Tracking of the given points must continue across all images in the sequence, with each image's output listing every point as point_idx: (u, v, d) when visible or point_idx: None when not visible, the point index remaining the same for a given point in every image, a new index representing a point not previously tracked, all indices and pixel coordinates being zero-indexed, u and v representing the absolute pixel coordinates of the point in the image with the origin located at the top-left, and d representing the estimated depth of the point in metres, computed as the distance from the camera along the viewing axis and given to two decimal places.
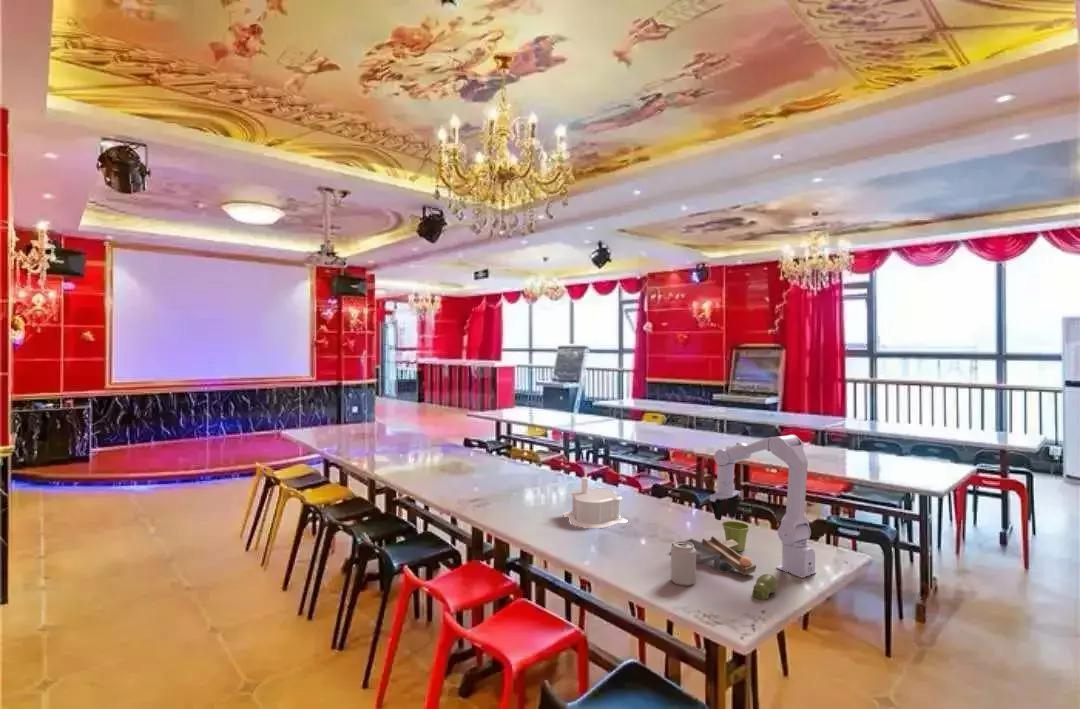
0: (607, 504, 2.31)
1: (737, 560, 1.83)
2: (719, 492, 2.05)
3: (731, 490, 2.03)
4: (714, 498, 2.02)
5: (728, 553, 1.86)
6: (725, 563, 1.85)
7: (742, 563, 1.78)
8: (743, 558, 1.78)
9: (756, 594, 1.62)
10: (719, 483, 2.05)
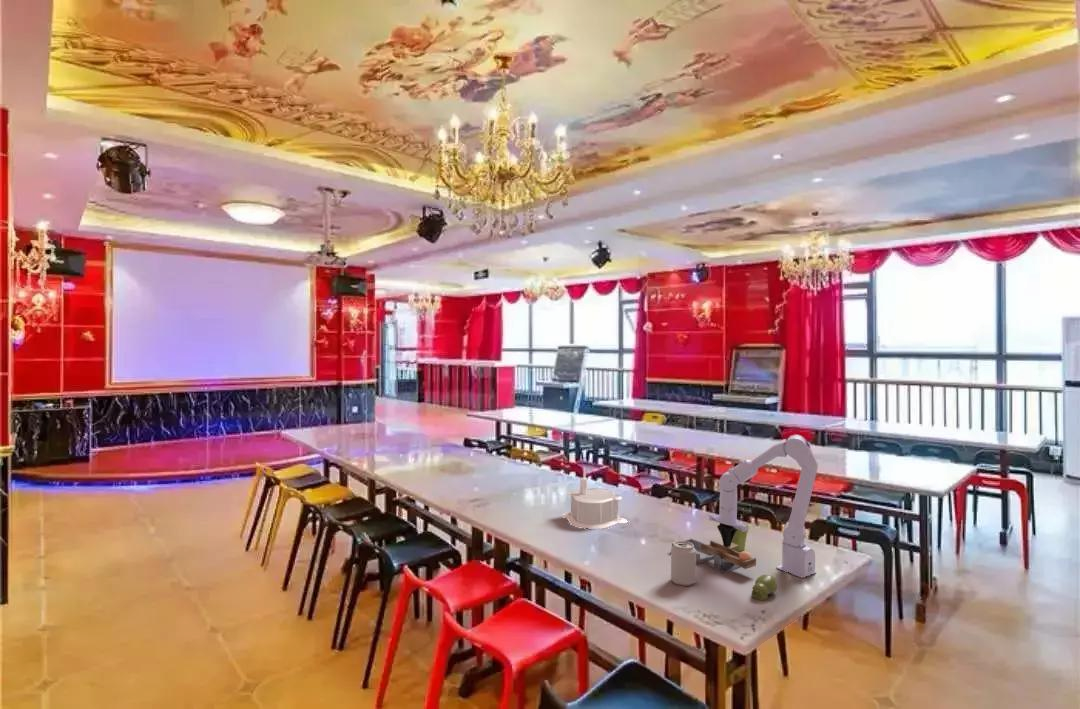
0: (607, 504, 2.30)
1: (737, 557, 1.83)
2: None
3: (722, 516, 1.91)
4: (710, 517, 1.98)
5: (728, 553, 1.86)
6: (725, 563, 1.85)
7: (741, 557, 1.78)
8: (742, 552, 1.79)
9: (755, 594, 1.62)
10: None
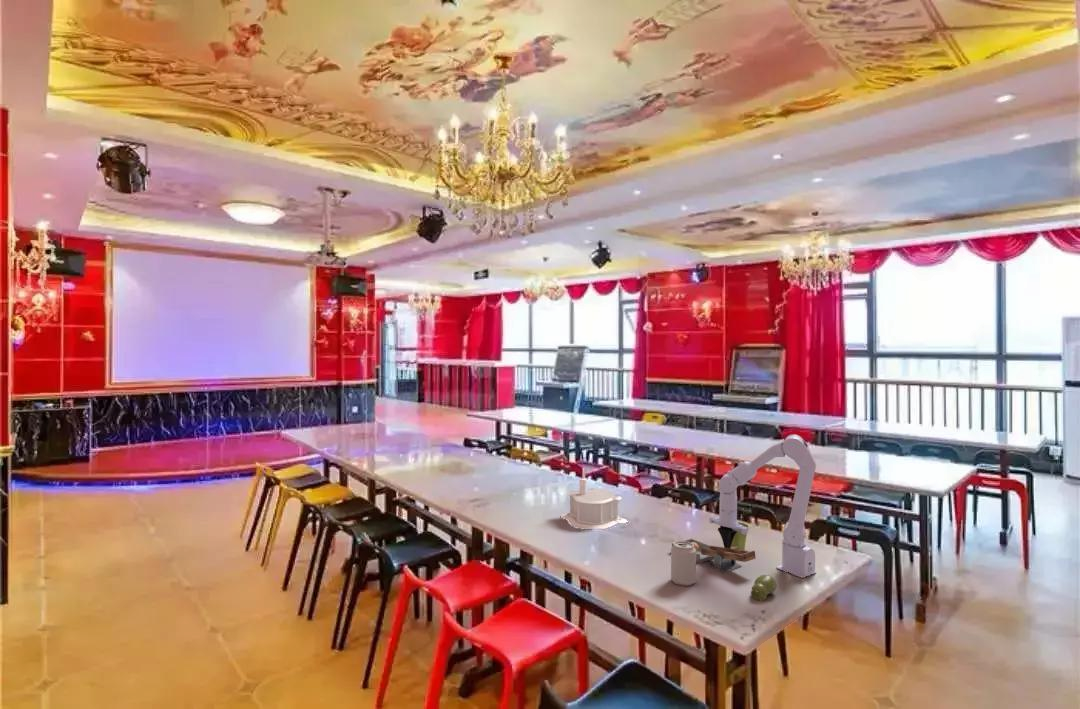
0: (607, 505, 2.30)
1: None
2: None
3: (722, 518, 1.91)
4: (710, 519, 1.98)
5: None
6: (725, 563, 1.85)
7: None
8: None
9: (754, 595, 1.62)
10: None
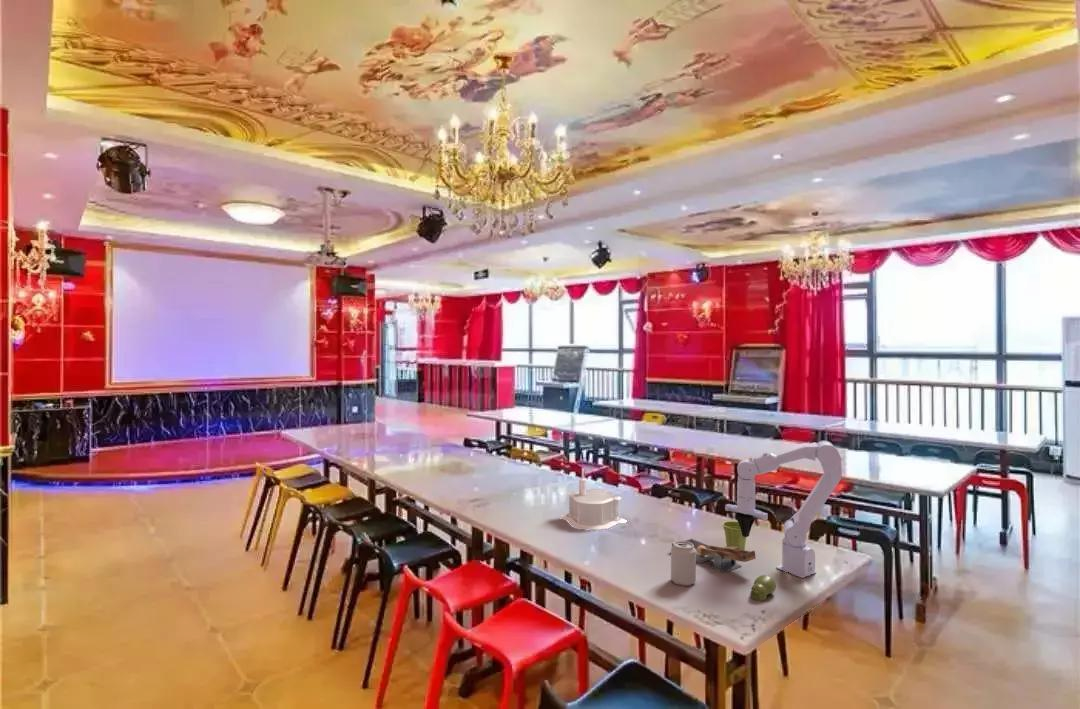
0: (608, 505, 2.30)
1: None
2: None
3: (741, 505, 1.86)
4: (726, 507, 1.93)
5: None
6: (725, 563, 1.85)
7: (698, 552, 1.93)
8: None
9: (754, 595, 1.62)
10: None
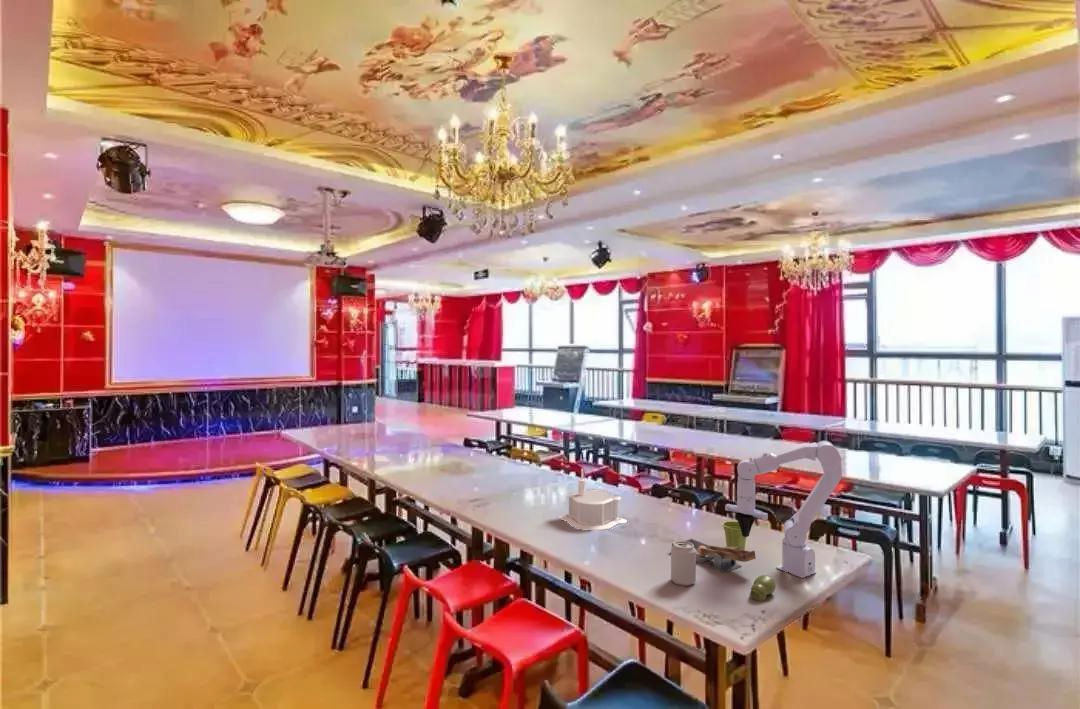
0: (608, 505, 2.30)
1: None
2: None
3: (741, 505, 1.86)
4: (726, 507, 1.93)
5: None
6: (725, 563, 1.85)
7: (699, 552, 1.93)
8: None
9: (753, 595, 1.62)
10: None
